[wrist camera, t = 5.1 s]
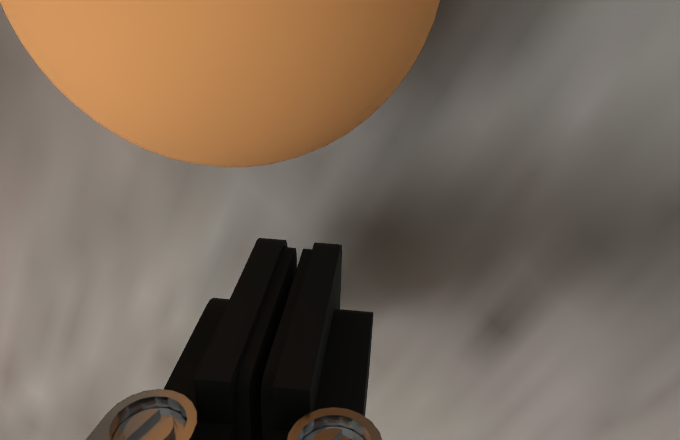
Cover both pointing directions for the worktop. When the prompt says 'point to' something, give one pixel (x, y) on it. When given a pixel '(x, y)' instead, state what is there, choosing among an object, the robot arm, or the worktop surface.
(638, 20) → the worktop surface
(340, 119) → the ball
